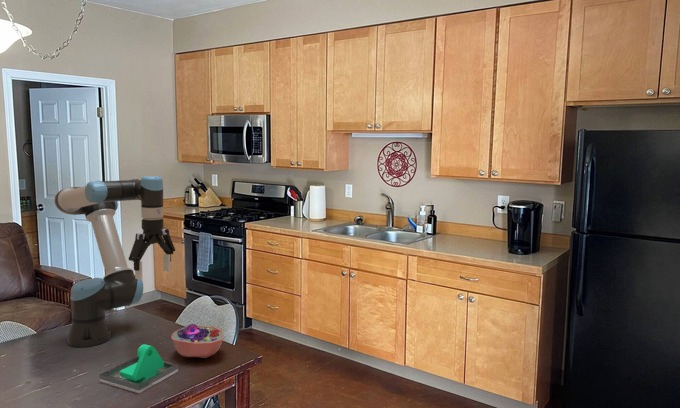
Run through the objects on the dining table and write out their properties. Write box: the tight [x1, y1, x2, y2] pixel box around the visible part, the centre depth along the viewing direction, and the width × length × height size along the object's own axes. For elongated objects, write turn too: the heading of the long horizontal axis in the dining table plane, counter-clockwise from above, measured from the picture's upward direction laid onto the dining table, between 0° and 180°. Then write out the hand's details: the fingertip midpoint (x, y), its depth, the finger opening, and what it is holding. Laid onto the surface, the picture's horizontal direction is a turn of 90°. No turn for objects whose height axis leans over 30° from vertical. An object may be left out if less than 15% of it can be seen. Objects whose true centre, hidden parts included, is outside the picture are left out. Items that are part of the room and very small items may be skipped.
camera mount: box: [120, 343, 165, 381], centre depth 163 cm, size 12×8×10 cm, turn 155°
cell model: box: [170, 323, 224, 359], centre depth 181 cm, size 17×20×11 cm
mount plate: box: [99, 355, 179, 395], centre depth 164 cm, size 17×17×2 cm
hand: (153, 274), depth 184 cm, fingers open, 13 cm apart
